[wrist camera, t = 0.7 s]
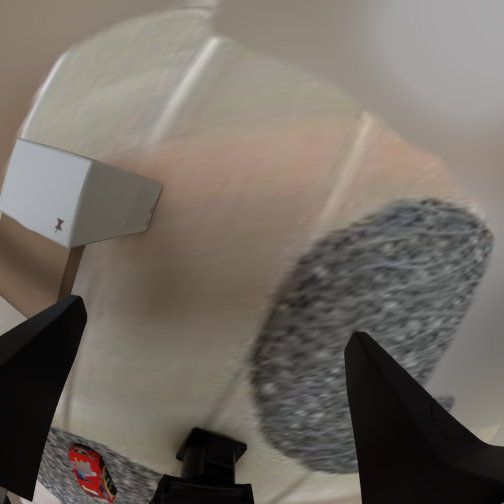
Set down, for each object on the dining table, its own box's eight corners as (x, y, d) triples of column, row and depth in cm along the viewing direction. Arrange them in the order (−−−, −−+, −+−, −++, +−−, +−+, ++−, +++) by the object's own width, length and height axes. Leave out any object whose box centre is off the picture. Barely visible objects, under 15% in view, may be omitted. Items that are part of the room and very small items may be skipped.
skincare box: (164, 183, 22) (95, 160, 10) (147, 232, 23) (68, 253, 11) (105, 162, 22) (15, 135, 10) (90, 208, 22) (-6, 212, 10)
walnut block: (64, 325, 24) (50, 336, 21) (5, 279, 23) (-11, 285, 20) (89, 238, 23) (72, 242, 20) (24, 197, 22) (6, 197, 19)
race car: (69, 437, 26) (58, 454, 22) (102, 448, 26) (92, 467, 22) (90, 485, 28) (83, 500, 24) (120, 495, 28) (114, 511, 24)
